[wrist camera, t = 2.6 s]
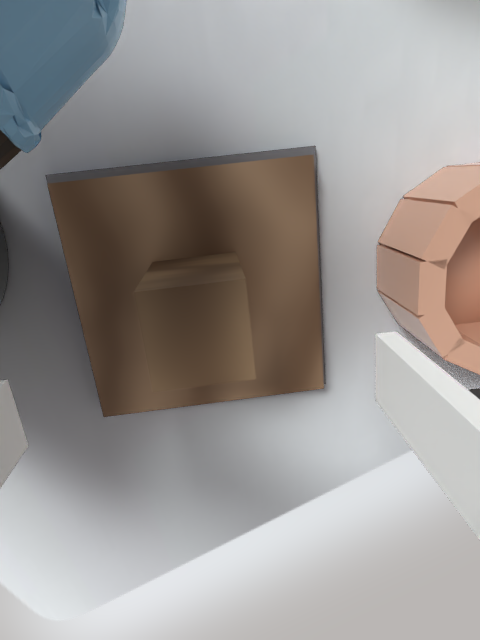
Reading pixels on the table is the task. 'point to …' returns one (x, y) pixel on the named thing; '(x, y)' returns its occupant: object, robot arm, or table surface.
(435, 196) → the terracotta bowl
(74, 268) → the walnut lid
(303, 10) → the table surface
